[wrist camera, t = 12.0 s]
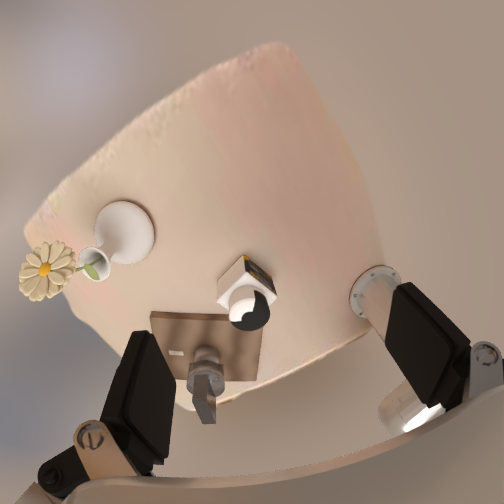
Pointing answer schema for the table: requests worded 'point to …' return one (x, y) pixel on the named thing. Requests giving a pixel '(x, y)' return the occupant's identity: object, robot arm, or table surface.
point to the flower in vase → (90, 252)
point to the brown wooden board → (206, 344)
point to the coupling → (205, 388)
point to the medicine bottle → (246, 294)
